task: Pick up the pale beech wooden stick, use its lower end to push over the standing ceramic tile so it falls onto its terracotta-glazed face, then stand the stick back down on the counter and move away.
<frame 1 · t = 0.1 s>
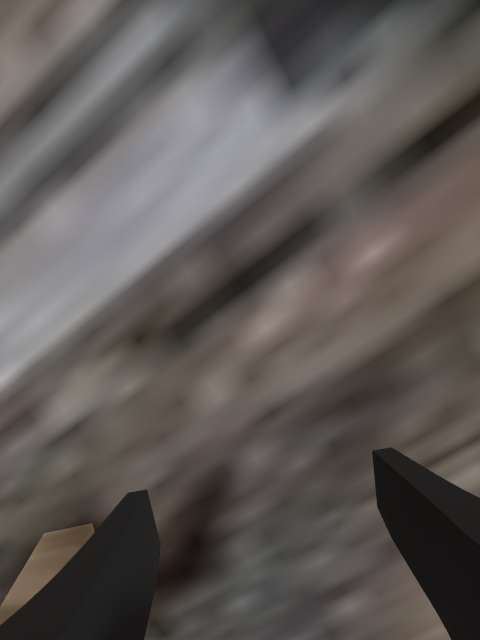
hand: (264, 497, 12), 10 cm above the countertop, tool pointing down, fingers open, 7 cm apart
stick: (75, 548, 23), on the countertop
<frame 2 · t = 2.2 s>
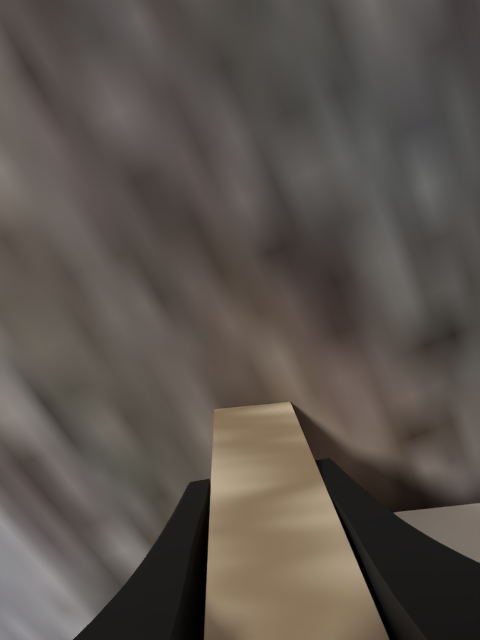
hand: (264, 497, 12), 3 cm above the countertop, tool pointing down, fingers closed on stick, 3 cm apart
tile: (467, 521, 16), on the countertop
stick: (255, 440, 15), on the countertop, touching gripper
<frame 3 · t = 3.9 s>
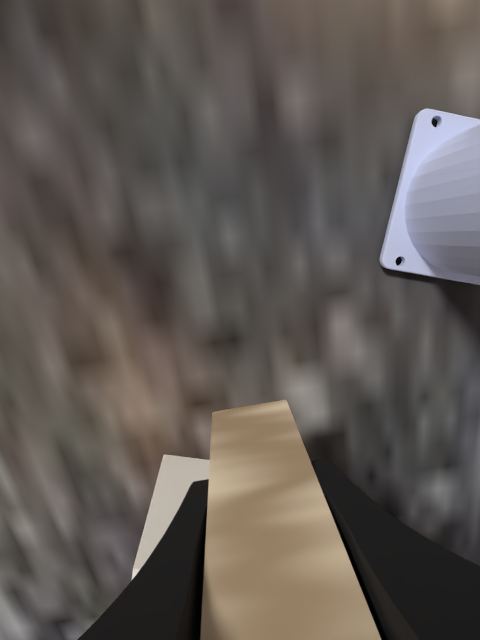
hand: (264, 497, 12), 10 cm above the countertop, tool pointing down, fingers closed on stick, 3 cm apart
tile: (226, 475, 23), on the countertop
stick: (254, 439, 15), point 7 cm above the countertop, touching gripper
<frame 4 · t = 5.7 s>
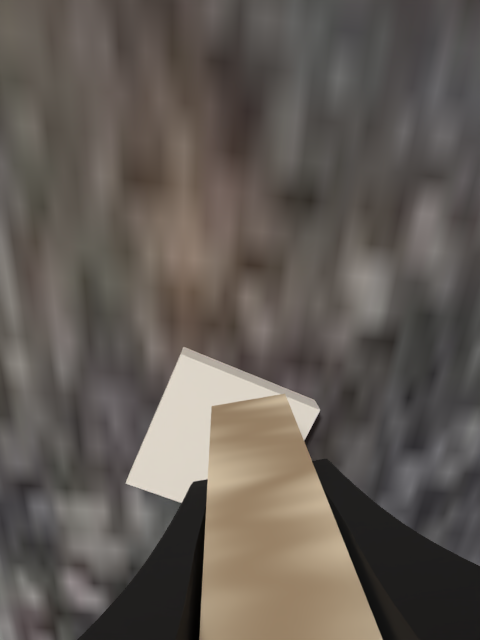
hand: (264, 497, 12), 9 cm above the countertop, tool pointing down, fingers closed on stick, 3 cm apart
tile: (251, 376, 21), on the countertop, tilted 90°
stick: (253, 433, 15), point 6 cm above the countertop, touching gripper
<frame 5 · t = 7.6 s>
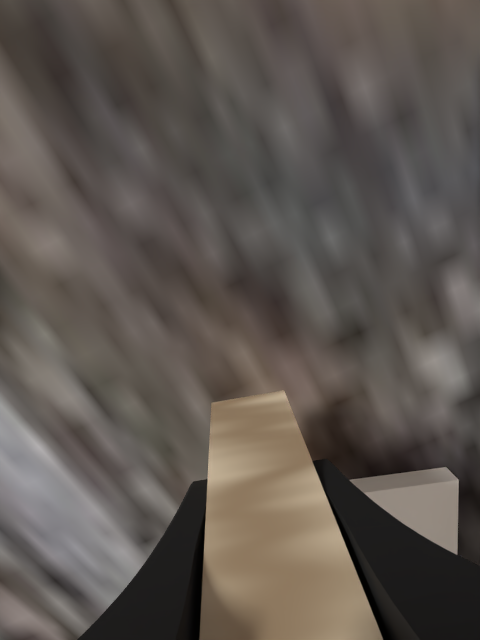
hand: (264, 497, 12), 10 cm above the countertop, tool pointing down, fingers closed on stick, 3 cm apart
tile: (387, 479, 23), on the countertop, tilted 90°
stick: (253, 429, 16), point 6 cm above the countertop, touching gripper
when the fingers open (4 cm above the countertop, at t = 9.1 s): stick stays where it is, on the countertop.
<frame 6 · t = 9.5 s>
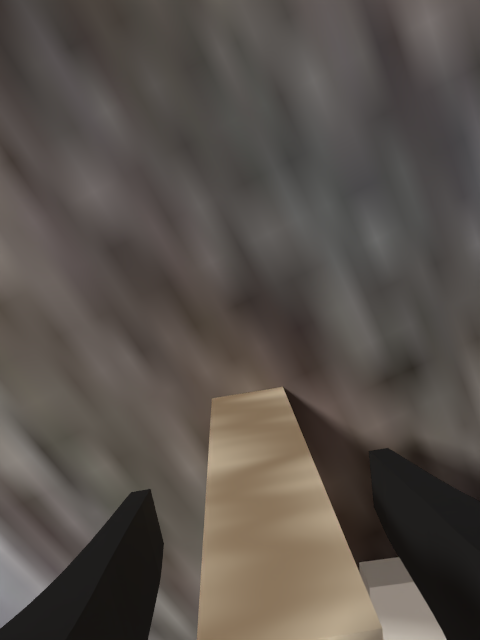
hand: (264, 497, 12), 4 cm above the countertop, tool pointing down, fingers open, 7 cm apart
tile: (446, 558, 18), on the countertop, tilted 90°
stick: (252, 425, 16), on the countertop
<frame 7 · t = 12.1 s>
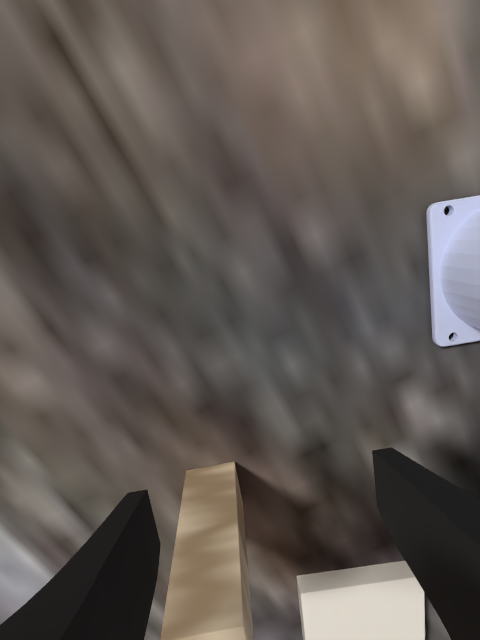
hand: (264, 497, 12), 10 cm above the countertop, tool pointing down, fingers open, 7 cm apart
tile: (357, 572, 25), on the countertop, tilted 90°
stick: (215, 487, 23), on the countertop
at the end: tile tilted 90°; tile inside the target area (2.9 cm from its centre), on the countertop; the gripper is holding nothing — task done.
